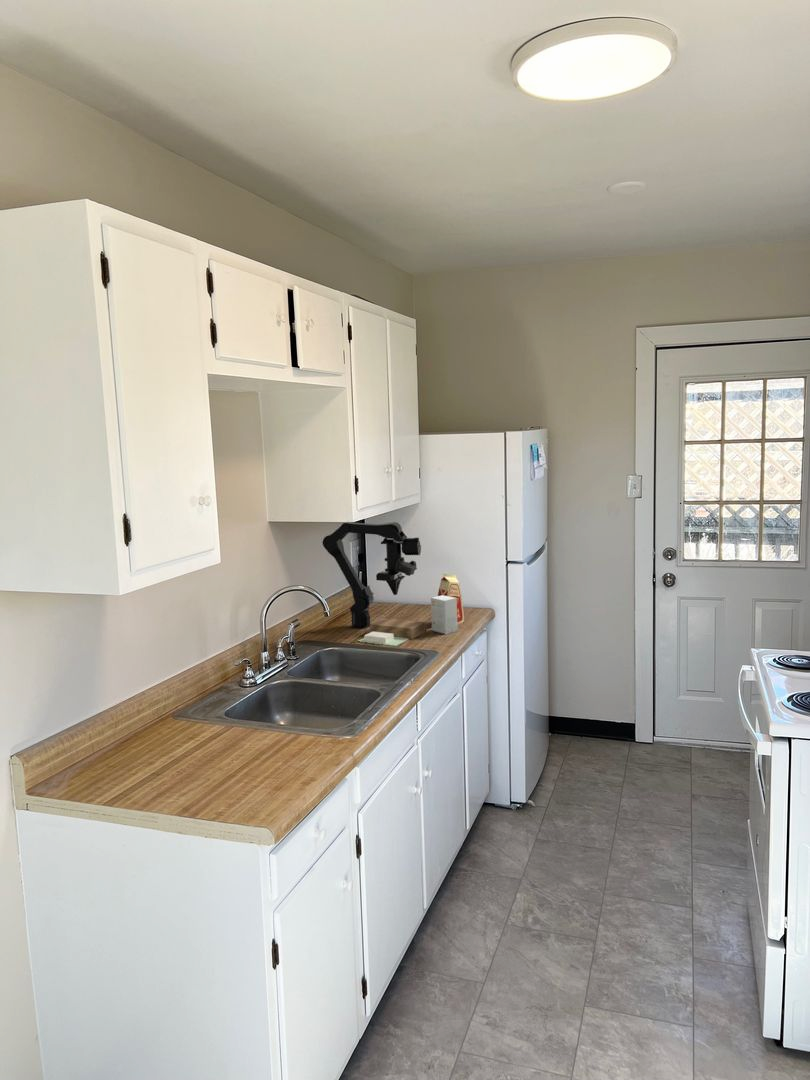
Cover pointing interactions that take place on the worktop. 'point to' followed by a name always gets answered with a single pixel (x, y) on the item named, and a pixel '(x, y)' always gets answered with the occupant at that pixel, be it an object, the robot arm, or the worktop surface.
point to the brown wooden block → (398, 627)
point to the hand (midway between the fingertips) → (395, 594)
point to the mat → (393, 642)
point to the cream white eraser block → (378, 637)
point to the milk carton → (452, 593)
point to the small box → (444, 614)
